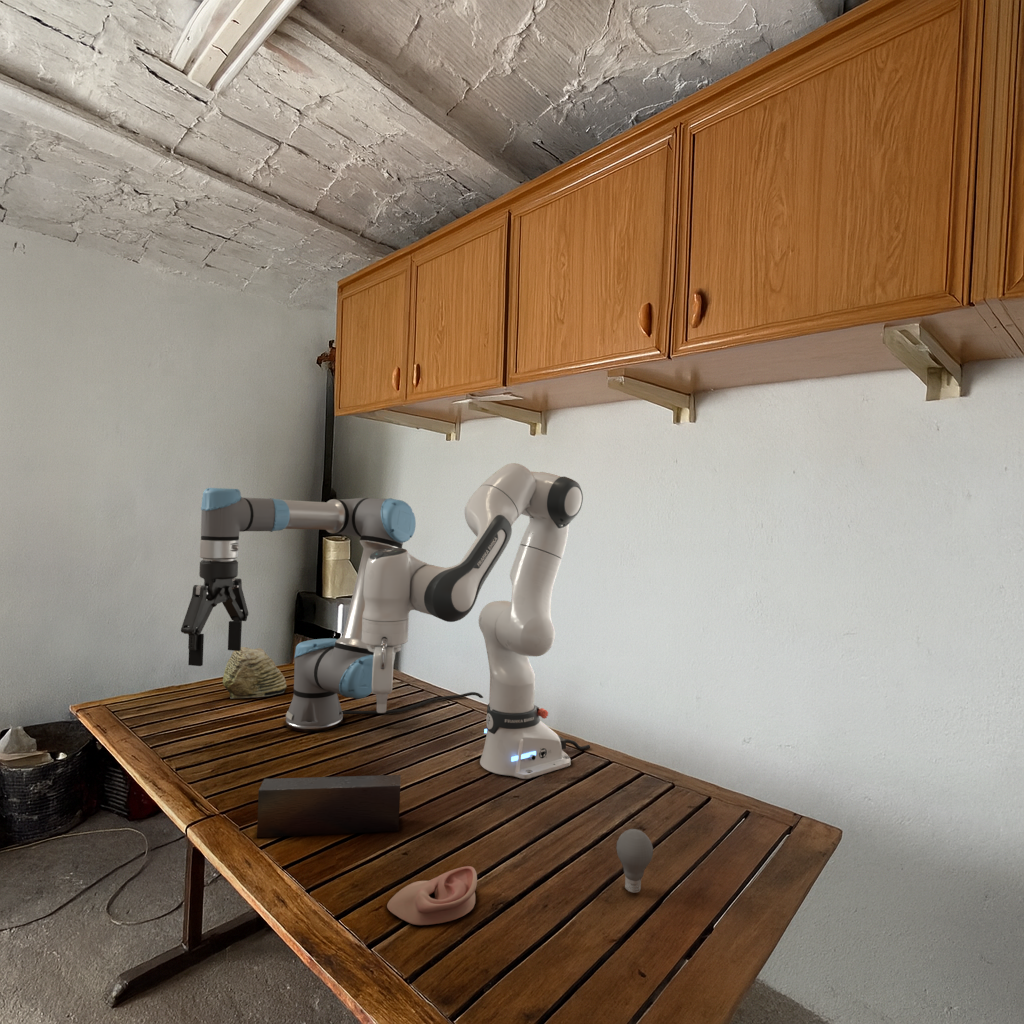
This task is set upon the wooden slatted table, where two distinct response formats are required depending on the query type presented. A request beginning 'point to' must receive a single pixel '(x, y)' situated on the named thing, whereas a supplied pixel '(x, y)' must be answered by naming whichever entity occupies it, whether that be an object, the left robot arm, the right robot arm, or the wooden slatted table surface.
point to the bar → (328, 805)
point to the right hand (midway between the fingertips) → (382, 703)
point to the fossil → (252, 675)
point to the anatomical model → (436, 898)
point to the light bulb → (634, 857)
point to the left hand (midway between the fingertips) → (215, 657)
